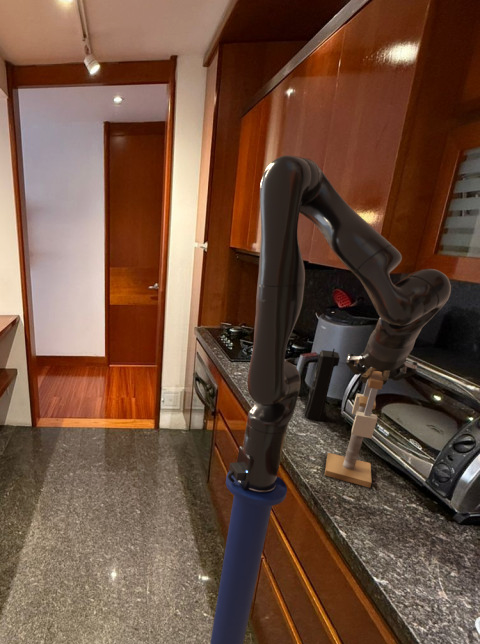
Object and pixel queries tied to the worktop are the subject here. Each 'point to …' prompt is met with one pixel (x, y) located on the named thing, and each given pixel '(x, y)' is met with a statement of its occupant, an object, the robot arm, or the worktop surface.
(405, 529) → the worktop surface
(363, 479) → the headphone stand
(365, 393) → the brown blocky piece
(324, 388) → the portable radio
